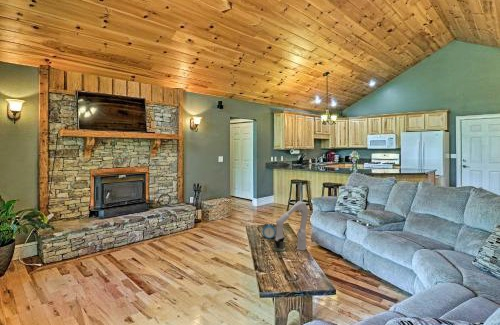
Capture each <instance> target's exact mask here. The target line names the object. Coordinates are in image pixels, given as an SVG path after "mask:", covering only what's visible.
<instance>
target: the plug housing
mask: <svg viewBox="0 0 500 325" xmlns="http://www.w3.org/2000/svg"><path fill="white" fill-rule="evenodd" d="M271 244H273V245H274V246H273V248H276V249H282V250H283V249H285V248H286V247H285V246H286V244H285V241H283V242H282V241H281V242H280V246H279V248H277V246H276V243H275V241H274V242H273V241H272V242H271Z"/></svg>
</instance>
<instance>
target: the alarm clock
mask: <svg viewBox="0 0 500 325" xmlns="http://www.w3.org/2000/svg"><path fill="white" fill-rule="evenodd" d="M276 234H277V230H276V227H275V224H274V223H264V224H263V228H262V235H263V236H264V237H265V239H273V238H274V237H275V236H276Z"/></svg>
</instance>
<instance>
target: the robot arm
mask: <svg viewBox="0 0 500 325" xmlns="http://www.w3.org/2000/svg"><path fill="white" fill-rule="evenodd" d="M298 210H300V211H301V219H300V224H299V225H300V226H299V228H298V231H297V233H296V235H297V247H296V249H295V250H300V251H306V250H307V248H308V246H307V231H306V228H307V222H308V216H309V209H308V207H307V204H306V203H305V202H303V201H302V200H298V201H297V202H296V203H294V205H293V206H292V207H291V208H289V210H288V211H287V212H284V213H282V214H281V216H280V217H278V218H277V219H276V221H275V223H276V235H275V236H274V237H275V239H274V242H275V243H276V246H277V248H279V246H280V242H281V241H282V242H285V236H284V234H283V232H284V231H283V230H284V229H283V228H284V224H285V222H286V221H288V220H289V218H290V216H291V215H292V214H293V213H294V212H296V211H298Z"/></svg>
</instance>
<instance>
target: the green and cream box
mask: <svg viewBox="0 0 500 325" xmlns="http://www.w3.org/2000/svg"><path fill="white" fill-rule="evenodd" d="M286 250H287V247H285V249H283V250H282V249H276V248H274V247H273V248H272V251H276V252H281V253H283V252H285V251H286Z"/></svg>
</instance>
